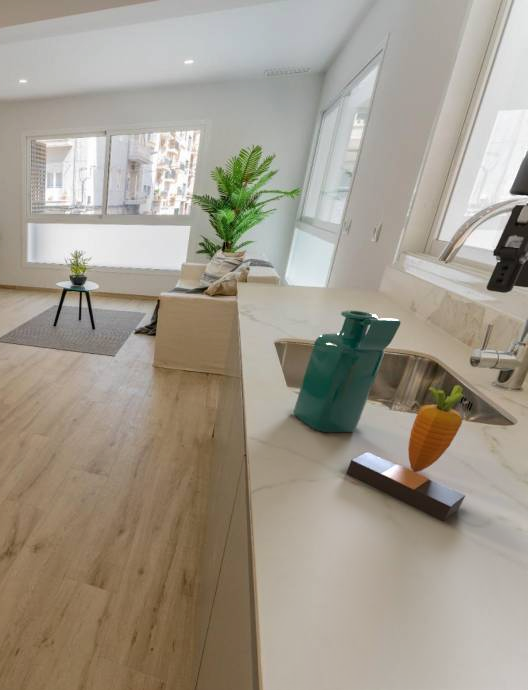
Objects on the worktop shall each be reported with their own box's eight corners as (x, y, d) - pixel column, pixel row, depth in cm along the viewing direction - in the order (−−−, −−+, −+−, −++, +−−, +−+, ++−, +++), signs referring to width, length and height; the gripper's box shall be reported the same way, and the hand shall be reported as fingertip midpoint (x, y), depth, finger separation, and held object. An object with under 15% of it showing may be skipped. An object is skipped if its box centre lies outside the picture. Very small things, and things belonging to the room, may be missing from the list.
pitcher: (288, 411, 86) (320, 305, 77) (327, 411, 86) (364, 306, 78) (322, 437, 77) (363, 320, 68) (366, 437, 77) (412, 320, 69)
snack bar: (362, 464, 69) (367, 451, 68) (458, 509, 60) (466, 494, 59) (345, 473, 67) (351, 459, 66) (443, 521, 57) (451, 506, 56)
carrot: (405, 478, 66) (444, 391, 60) (388, 460, 71) (423, 378, 65) (442, 483, 65) (486, 396, 59) (423, 465, 69) (461, 382, 64)
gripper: (607, 147, 44) (532, 300, 50) (635, 155, 51) (566, 289, 57) (506, 151, 50) (450, 288, 56) (542, 158, 57) (489, 279, 63)
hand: (509, 288), depth 57 cm, fingers open, 8 cm apart
